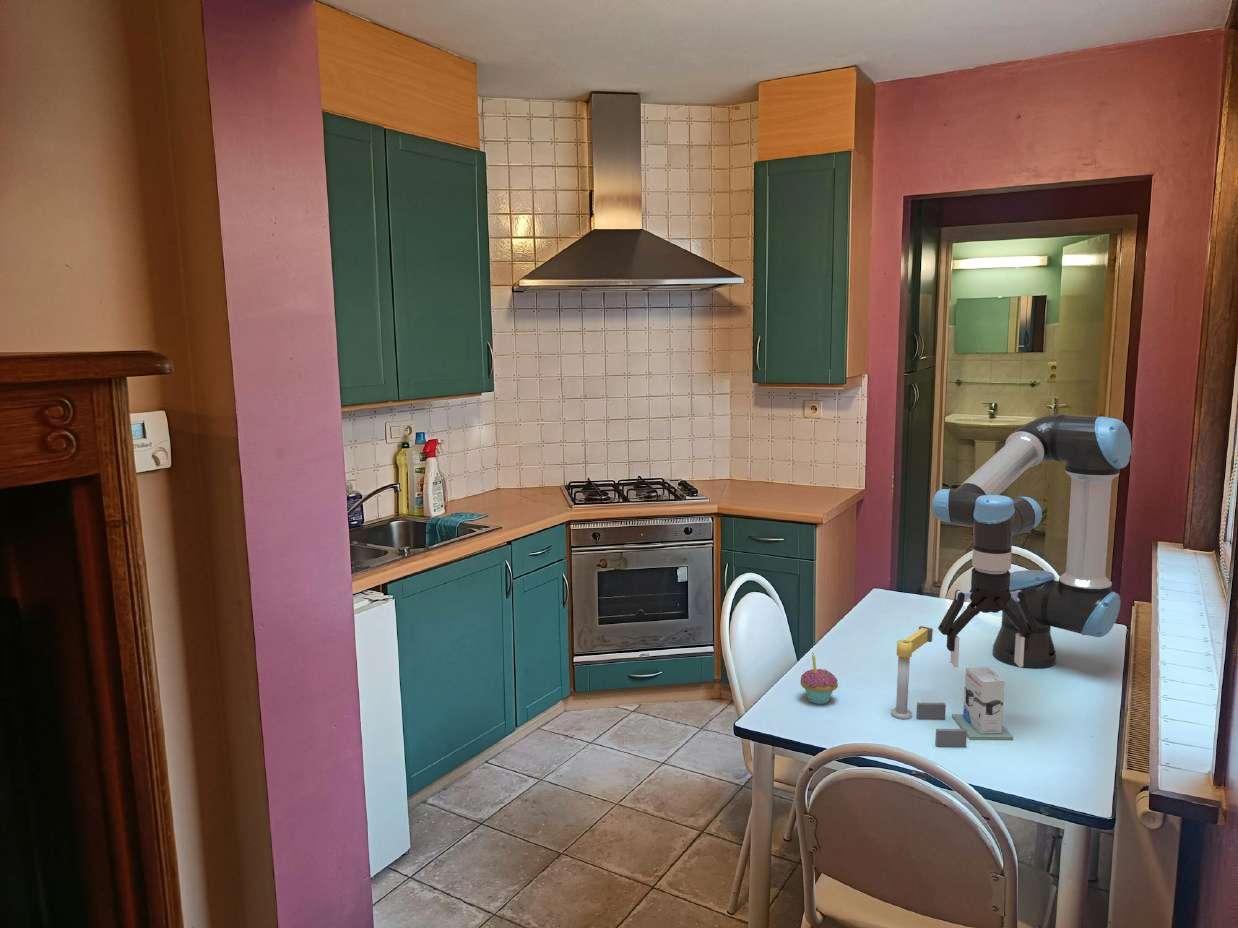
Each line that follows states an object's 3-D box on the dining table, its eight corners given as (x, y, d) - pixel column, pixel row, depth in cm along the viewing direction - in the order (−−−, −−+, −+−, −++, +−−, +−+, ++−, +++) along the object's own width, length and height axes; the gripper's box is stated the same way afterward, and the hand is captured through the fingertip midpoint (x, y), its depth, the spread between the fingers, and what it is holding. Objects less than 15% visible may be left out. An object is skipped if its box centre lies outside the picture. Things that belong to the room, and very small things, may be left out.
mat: (992, 717, 193) (992, 714, 193) (1013, 739, 182) (1013, 737, 182) (951, 716, 193) (952, 714, 193) (969, 739, 183) (969, 736, 182)
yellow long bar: (908, 659, 190) (908, 646, 190) (894, 655, 192) (894, 642, 192) (932, 640, 201) (933, 628, 201) (919, 637, 203) (919, 625, 203)
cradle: (938, 711, 196) (941, 653, 194) (966, 747, 179) (969, 684, 177) (888, 710, 197) (891, 653, 195) (911, 746, 180) (914, 684, 178)
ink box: (962, 717, 192) (964, 666, 190) (983, 716, 192) (986, 665, 190) (980, 734, 183) (983, 681, 182) (1002, 733, 184) (1006, 681, 182)
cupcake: (815, 710, 197) (817, 659, 195) (792, 696, 205) (793, 647, 203) (844, 702, 201) (846, 653, 199) (820, 689, 209) (821, 641, 207)
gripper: (1043, 563, 186) (1037, 657, 189) (925, 564, 187) (922, 658, 190) (1059, 573, 178) (1053, 671, 182) (936, 574, 179) (933, 671, 183)
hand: (986, 664), depth 186 cm, fingers open, 13 cm apart
